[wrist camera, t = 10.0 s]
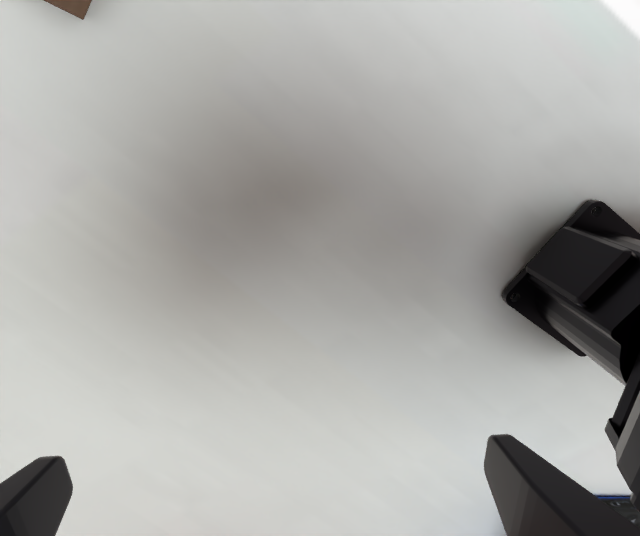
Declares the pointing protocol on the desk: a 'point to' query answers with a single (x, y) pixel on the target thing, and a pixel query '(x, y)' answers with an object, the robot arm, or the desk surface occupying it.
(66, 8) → the walnut block
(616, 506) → the handheld game console
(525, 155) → the desk surface
